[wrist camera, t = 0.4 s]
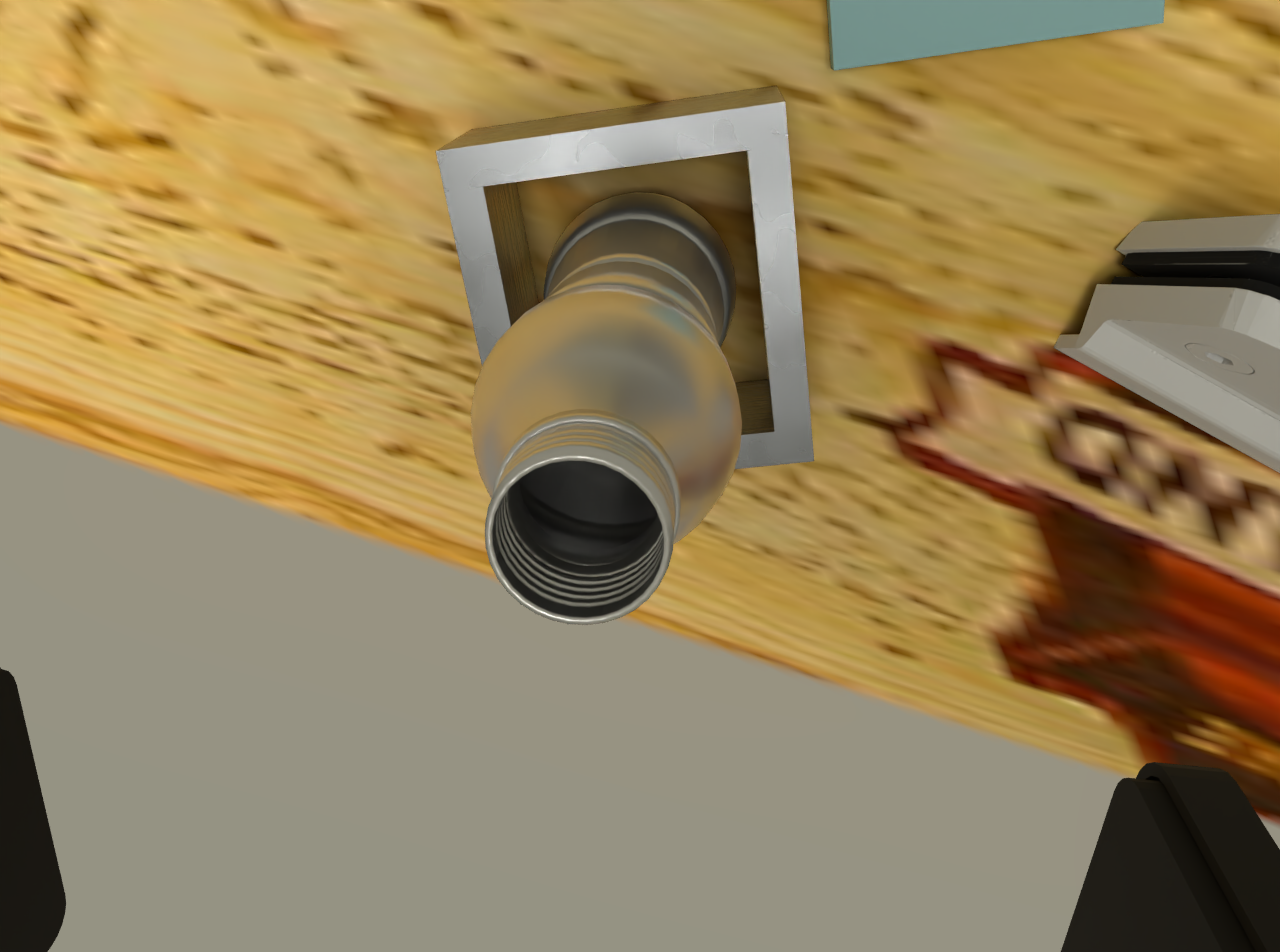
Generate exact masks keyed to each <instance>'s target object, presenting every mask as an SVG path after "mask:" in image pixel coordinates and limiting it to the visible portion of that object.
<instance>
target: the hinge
mask: <svg viewBox="0 0 1280 952" xmlns="http://www.w3.org/2000/svg"><path fill="white" fill-rule="evenodd" d="M1116 250H1117V251H1119V252H1121V253H1122V254H1124V255H1125V256H1126V257H1125V259H1124V261H1123V263H1122V265H1123V266H1125V267H1127V268H1129V269H1130V270H1132V271H1134V272H1136V273H1137V274H1139V275H1141V276H1143V277H1116V276H1115V277H1114V279H1113V281H1112V283H1111V284H1097V286H1096V289H1095V292H1094V295H1093V297H1092V300H1091V303H1090V306H1089V309H1088V312H1087V315H1086V318H1085V321H1084V324H1083V326H1082V329H1081V332H1080V334H1077V335H1060V336H1059V338H1058V340H1057V342H1056V344H1055V346H1054V348H1055V349H1057V350H1059V351H1061V352H1063V353H1064V354H1066V355H1068V356H1070V357H1072V358H1073V359H1075V360H1077V361H1079V362H1081V363H1082V364H1084V365H1086V366H1088V367H1090V368H1091V369H1093V370H1095V371H1097V372H1099V373H1100V374H1102V375H1104V376H1106V377H1108V378H1109V379H1111V380H1113V381H1115V382H1117V383H1118V384H1120V385H1122V386H1124V387H1126V388H1127V389H1129V390H1131V391H1133V392H1135V393H1136V394H1138V395H1140V396H1142V397H1144V398H1145V399H1147V400H1149V401H1151V402H1153V403H1154V404H1156V405H1158V406H1160V407H1162V408H1163V409H1165V410H1167V411H1169V412H1171V413H1173V414H1174V415H1176V416H1178V417H1180V418H1182V419H1183V420H1185V421H1187V422H1189V423H1191V424H1192V425H1194V426H1196V427H1198V428H1200V429H1201V430H1203V431H1205V432H1207V433H1209V434H1210V435H1212V436H1214V437H1216V438H1218V439H1219V440H1221V441H1223V442H1225V443H1227V444H1228V445H1230V446H1232V447H1234V448H1236V449H1237V450H1239V451H1241V452H1243V453H1245V454H1246V455H1248V456H1250V457H1252V458H1254V459H1255V460H1257V461H1259V462H1261V463H1263V464H1264V465H1266V466H1268V467H1270V468H1272V469H1273V470H1275V471H1277V472H1279V473H1280V214H1270V215H1253V216H1235V217H1218V218H1200V219H1183V220H1166V221H1148V222H1141V223H1140V224H1139V225H1137V226H1136V227H1135V228H1134V229H1133V230H1132V231H1131V232H1130V233H1129V234H1128V236H1127V237H1126V238H1125V239H1124V240H1123V241H1122V243H1121V244H1120V245H1119V246H1118V247H1117V249H1116Z"/></svg>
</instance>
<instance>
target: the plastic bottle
mask: <svg viewBox="0 0 1280 952" xmlns="http://www.w3.org/2000/svg"><path fill="white" fill-rule="evenodd" d="M735 299H736V282H735V275H734V268H733V265H732V262H731V259H730V256H729V253H728V250H727V248H726V247H725V245H724V243H723V241H722V240H721V238H720V236H719V234H718V233H717V232H716V231H715V229H714V228H713V227H712V226H711V225H710V224H709V223H708V221H707V220H706V219H705V218H704V217H702V216H701V215H700V214H698V213H697V212H696V211H694V210H693V209H692V208H691V207H689V206H688V205H686V204H684V203H682V202H680V201H678V200H676V199H674V198H671V197H668V196H664V195H660V194H656V193H628V194H623V195H617V196H613V197H610V198H608V199H605V200H603V201H600V202H598V203H595V204H594V205H592V206H591V207H589V208H588V209H587V210H585V211H584V212H582V213H581V214H579V215H578V216H577V217H576V218H575V219H574V220H573V221H572V222H571V223H570V224H569V225H568V226H567V228H566V229H565V230H564V232H563V233H562V235H561V236H560V238H559V240H558V241H557V243H556V244H555V247H554V249H553V252H552V254H551V257H550V259H549V262H548V267H547V272H546V278H545V285H544V300H543V301H542V302H540V303H539V304H537V305H536V306H534V307H533V308H531V309H530V310H528V311H527V312H525V313H524V314H523V315H522V316H521V317H520V318H519V319H518V320H517V321H516V322H515V323H514V324H513V325H512V326H511V327H510V328H509V329H508V330H507V331H506V332H505V334H504V335H503V336H502V337H501V338H500V339H499V340H498V341H497V343H496V344H495V346H494V347H493V349H492V351H491V352H490V354H489V355H488V357H487V358H486V360H485V361H484V363H483V366H482V369H481V371H480V374H479V377H478V379H477V382H476V385H475V388H474V395H473V401H472V407H471V427H472V441H473V447H474V452H475V456H476V460H477V464H478V468H479V472H480V476H481V478H482V480H483V482H484V484H485V486H486V489H487V491H488V493H489V495H490V497H491V498H492V499H491V502H490V504H489V507H488V511H487V517H486V523H485V542H486V550H487V554H488V557H489V561H490V564H491V566H492V568H493V570H494V572H495V574H496V577H497V578H498V580H499V581H500V582H501V584H502V585H503V587H504V588H505V589H506V591H507V592H508V593H509V594H510V595H511V596H513V597H514V598H515V599H516V600H517V601H518V602H519V603H520V604H521V605H523V606H525V607H526V608H528V609H529V610H531V611H533V612H534V613H536V614H538V615H541V616H543V617H545V618H548V619H550V620H553V621H558V622H563V623H567V624H578V625H589V624H598V623H605V622H608V621H611V620H614V619H617V618H620V617H622V616H624V615H626V614H628V613H630V612H632V611H634V610H635V609H637V608H638V607H639V606H640V605H641V604H643V603H644V602H645V601H646V600H648V599H649V597H650V596H651V595H652V594H653V592H654V591H655V590H656V589H657V587H658V586H659V584H660V582H661V580H662V578H663V576H664V575H665V573H666V570H667V568H668V566H669V562H670V558H671V555H672V551H673V544H674V543H676V542H678V541H680V540H681V539H682V538H683V537H685V536H686V535H687V534H688V533H689V532H691V531H692V530H693V529H694V528H695V527H697V526H698V525H699V523H700V522H701V521H702V520H703V518H704V517H705V516H706V515H707V513H708V512H709V511H710V510H711V509H712V507H713V506H714V505H715V503H716V502H717V501H718V500H719V498H720V497H721V496H722V494H723V492H724V490H725V488H726V486H727V484H728V482H729V480H730V478H731V476H732V475H733V472H734V469H735V465H736V462H737V458H738V455H739V451H740V444H741V430H742V419H741V412H740V404H739V397H738V393H737V389H736V385H735V382H734V379H733V376H732V373H731V370H730V367H729V365H728V362H727V360H726V358H725V356H724V354H723V352H722V350H721V348H720V347H721V345H722V343H723V341H724V339H725V337H726V334H727V332H728V330H729V327H730V324H731V320H732V317H733V313H734V309H735Z"/></svg>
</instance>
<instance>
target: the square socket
mask: <svg viewBox="0 0 1280 952" xmlns="http://www.w3.org/2000/svg"><path fill="white" fill-rule="evenodd" d="M739 151H746V156H747V167H748V177H749V187H750V198H751V208H752V218H753V228H754V239H755V249H756V259H757V270H758V280H759V290H760V301H761V311H762V321H763V332H764V342H765V352H766V362H767V373H768V380H759V381H750V382H741V383H735V385H736V389H737V393H738V397H739V404H740V412H741V419H742V430H741V444H740V451H739V455H738V458H737V462H736V465H735V469H740V468H750V467H760V466H770V465H780V464H790V463H800V462H810V461H814V454H813V441H812V429H811V417H810V404H809V392H808V379H807V367H806V355H805V342H804V330H803V317H802V305H801V292H800V280H799V268H798V255H797V243H796V230H795V218H794V206H793V193H792V181H791V168H790V156H789V143H788V131H787V119H786V106H785V100H784V99H783V97H782V95H781V93H780V91H779V89H778V88H777V86H771V87H764V88H757V89H750V90H743V91H736V92H729V93H722V94H715V95H708V96H701V97H694V98H687V99H680V100H673V101H666V102H659V103H652V104H645V105H638V106H632V107H625V108H618V109H611V110H604V111H597V112H590V113H583V114H576V115H569V116H562V117H555V118H548V119H541V120H534V121H527V122H520V123H513V124H506V125H499V126H492V127H485V128H478V129H471V130H470V131H468V132H466V133H465V134H463V135H461V136H460V137H458V138H457V139H455V140H453V141H452V142H450V143H448V144H447V145H445V146H443V147H442V148H440V149H439V150H437V151H436V154H437V159H438V164H439V168H440V173H441V178H442V182H443V187H444V192H445V196H446V201H447V205H448V210H449V215H450V219H451V224H452V229H453V233H454V238H455V243H456V247H457V252H458V256H459V261H460V266H461V270H462V275H463V280H464V284H465V289H466V294H467V298H468V303H469V308H470V312H471V317H472V321H473V326H474V331H475V335H476V340H477V345H478V349H479V354H480V359H481V363H482V366H483V363H484V361H485V360H486V358H487V357H488V355H489V354H490V352H491V351H492V349H493V347H494V346H495V344H496V343H497V341H498V340H499V339H500V338H501V337H502V336H503V335H504V334H505V332H506V331H507V330H508V329H509V328H510V327H511V326H512V325H513V324H514V323H515V322H516V321H517V320H518V319H519V318H520V317H521V316H522V315H523V314H524V313H525V312H527V311H528V310H530V309H531V308H533V307H534V306H536V305H537V304H539V302H538V297H537V291H536V286H535V281H534V275H533V270H532V265H531V259H530V254H529V249H528V243H527V238H526V233H525V227H524V222H523V217H522V211H521V206H520V200H519V195H518V190H517V184H516V182H519V181H527V180H534V179H541V178H549V177H556V176H563V175H571V174H578V173H585V172H593V171H600V170H607V169H614V168H622V167H629V166H636V165H644V164H651V163H658V162H666V161H673V160H680V159H688V158H695V157H702V156H710V155H717V154H724V153H731V152H739Z"/></svg>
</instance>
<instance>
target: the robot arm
mask: <svg viewBox="0 0 1280 952" xmlns="http://www.w3.org/2000/svg"><path fill="white" fill-rule="evenodd" d="M65 908H66V899H65V892H64V887H63V884H62V879H61V874H60V870H59V866H58V862H57V857H56V853H55V848H54V845H53V840H52V836H51V831H50V827H49V823H48V818H47V814H46V810H45V805H44V801H43V797H42V793H41V788H40V784H39V780H38V775H37V771H36V766H35V762H34V758H33V753H32V749H31V745H30V741H29V736H28V732H27V727H26V723H25V720H24V715H23V710H22V706H21V701H20V698H19V693H18V689H17V684H16V682H15V680H14V677H13V676H12V675H11V674H10V672H9V671H6V670H2V669H1V668H0V952H47V951H48V950H49V949H50V947H51V946H52V944H53V942H54V941H55V939H56V937H57V936H58V933H59V931H60V928H61V926H62V923H63V919H64V915H65ZM1061 952H1280V849H1279V848H1278V846H1277V845H1276V843H1275V842H1274V840H1273V839H1272V837H1271V835H1270V834H1269V832H1268V831H1267V829H1266V828H1265V826H1264V824H1263V823H1262V821H1261V820H1260V818H1259V817H1258V815H1257V814H1256V812H1255V810H1254V809H1253V807H1252V806H1251V804H1250V803H1249V801H1248V800H1247V798H1246V796H1245V795H1244V793H1243V792H1242V790H1241V789H1240V787H1239V786H1238V784H1237V782H1236V781H1235V780H1234V779H1233V778H1232V777H1231V775H1230V774H1229V773H1228V772H1226V771H1224V770H1221V769H1218V768H1208V767H1198V766H1187V765H1177V764H1166V763H1156V762H1153V763H1147V764H1146V765H1145V766H1144V767H1143V768H1142V769H1141V770H1140V771H1139V773H1138V775H1137V777H1136V779H1134V778H1124V779H1122V780H1121V781H1120V782H1119V783H1118V784H1117V786H1116V789H1115V791H1114V794H1113V797H1112V800H1111V803H1110V806H1109V809H1108V812H1107V815H1106V818H1105V821H1104V824H1103V827H1102V830H1101V833H1100V836H1099V839H1098V842H1097V845H1096V848H1095V851H1094V854H1093V857H1092V860H1091V863H1090V866H1089V869H1088V872H1087V875H1086V878H1085V881H1084V884H1083V887H1082V890H1081V893H1080V896H1079V899H1078V902H1077V905H1076V908H1075V911H1074V914H1073V917H1072V920H1071V923H1070V926H1069V929H1068V932H1067V935H1066V938H1065V941H1064V944H1063V947H1062V950H1061Z"/></svg>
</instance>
